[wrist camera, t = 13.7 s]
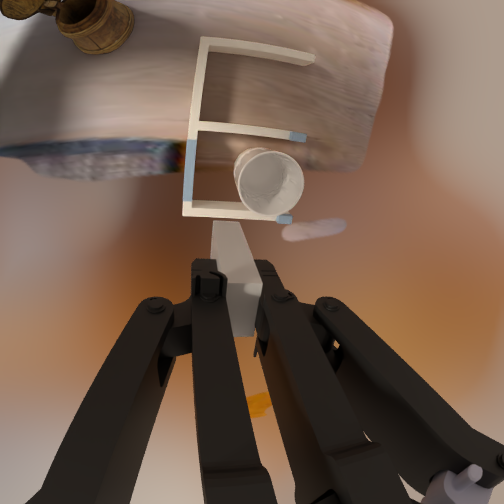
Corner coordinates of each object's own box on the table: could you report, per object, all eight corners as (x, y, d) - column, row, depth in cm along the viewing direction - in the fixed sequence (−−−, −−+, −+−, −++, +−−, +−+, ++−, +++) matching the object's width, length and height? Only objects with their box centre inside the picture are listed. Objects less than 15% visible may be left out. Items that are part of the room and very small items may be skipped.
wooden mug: (73, -3, 23) (20, -44, 7) (145, 10, 27) (115, -46, 11) (47, 45, 26) (-21, 25, 10) (116, 61, 30) (64, 31, 14)
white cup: (222, 186, 42) (229, 207, 33) (238, 136, 39) (250, 142, 30) (271, 200, 44) (290, 223, 35) (289, 152, 41) (313, 163, 32)
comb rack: (183, 206, 42) (182, 218, 38) (200, 43, 32) (201, 33, 27) (281, 212, 45) (291, 224, 41) (305, 59, 35) (318, 53, 30)
